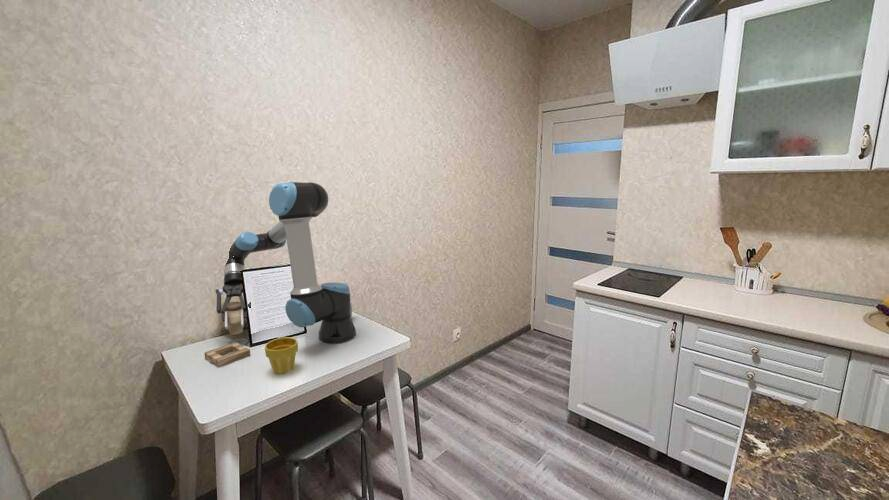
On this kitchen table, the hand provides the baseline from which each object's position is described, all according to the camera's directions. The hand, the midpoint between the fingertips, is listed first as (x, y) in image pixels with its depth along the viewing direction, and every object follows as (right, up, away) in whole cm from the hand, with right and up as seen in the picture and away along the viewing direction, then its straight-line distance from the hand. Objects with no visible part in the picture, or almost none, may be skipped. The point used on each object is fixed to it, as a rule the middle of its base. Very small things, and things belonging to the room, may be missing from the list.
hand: (234, 326), depth 141 cm
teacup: (+33, -3, +31) cm, 46 cm away
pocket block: (+2, -10, -7) cm, 12 cm away
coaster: (-1, -8, +5) cm, 9 cm away
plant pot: (+26, -12, -15) cm, 32 cm away
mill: (-2, -3, +4) cm, 5 cm away
